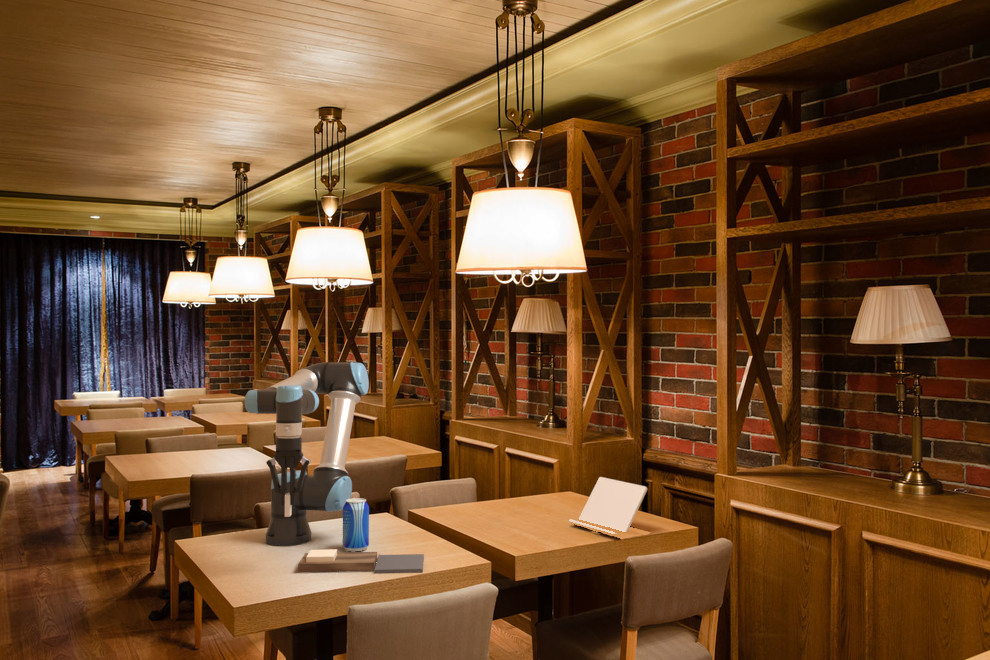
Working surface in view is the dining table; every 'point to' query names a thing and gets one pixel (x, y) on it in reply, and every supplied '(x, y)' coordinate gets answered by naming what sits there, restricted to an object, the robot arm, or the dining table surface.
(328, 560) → the cream flat block
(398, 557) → the mat
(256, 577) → the dining table surface
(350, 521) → the beer can
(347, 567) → the serving board
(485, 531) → the dining table surface
